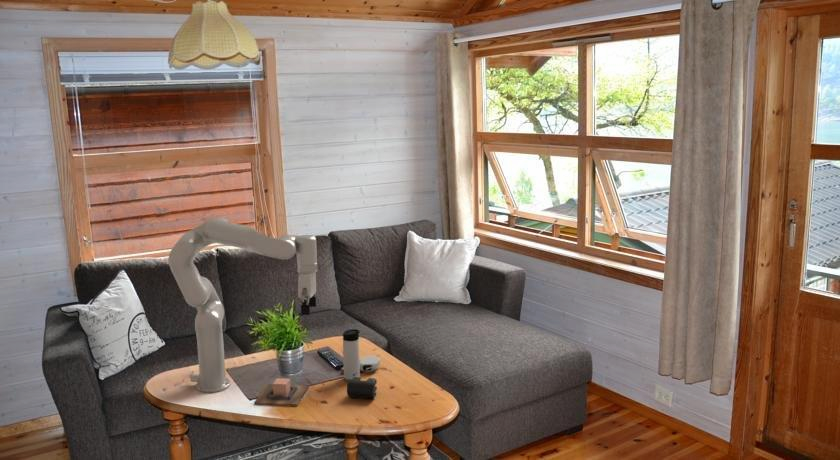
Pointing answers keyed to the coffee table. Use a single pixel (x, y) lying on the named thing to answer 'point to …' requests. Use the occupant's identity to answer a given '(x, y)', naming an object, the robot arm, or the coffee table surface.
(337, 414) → the coffee table surface
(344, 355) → the travel mug
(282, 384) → the terracotta cube
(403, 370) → the coffee table surface
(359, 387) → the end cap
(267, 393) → the holder board
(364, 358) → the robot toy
